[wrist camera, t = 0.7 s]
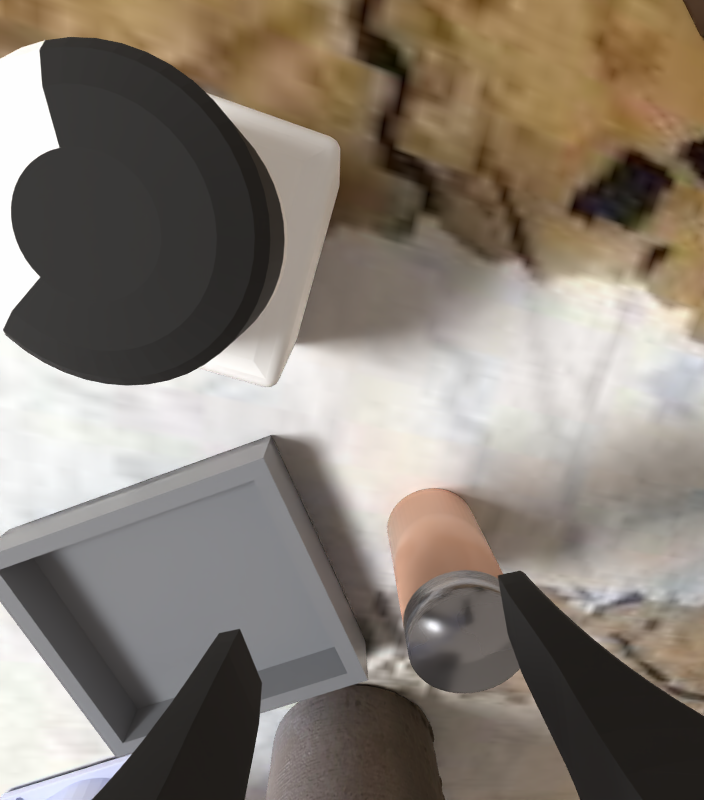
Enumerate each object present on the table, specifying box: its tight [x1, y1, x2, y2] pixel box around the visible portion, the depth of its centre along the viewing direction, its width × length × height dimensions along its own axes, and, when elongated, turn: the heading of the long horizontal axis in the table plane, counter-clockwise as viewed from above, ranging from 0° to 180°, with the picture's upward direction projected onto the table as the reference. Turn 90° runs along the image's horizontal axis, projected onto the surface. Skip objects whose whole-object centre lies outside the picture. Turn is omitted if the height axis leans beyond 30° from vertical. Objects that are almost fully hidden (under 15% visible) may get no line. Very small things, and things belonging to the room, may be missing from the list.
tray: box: [0, 435, 368, 758], centre depth 23 cm, size 14×13×2 cm
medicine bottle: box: [0, 37, 340, 387], centre depth 14 cm, size 7×7×12 cm
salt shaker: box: [387, 488, 520, 693], centre depth 20 cm, size 4×4×8 cm
